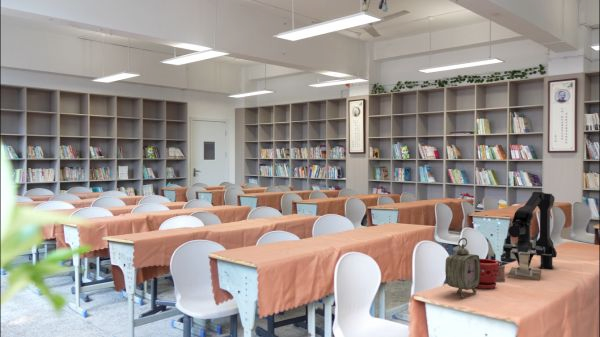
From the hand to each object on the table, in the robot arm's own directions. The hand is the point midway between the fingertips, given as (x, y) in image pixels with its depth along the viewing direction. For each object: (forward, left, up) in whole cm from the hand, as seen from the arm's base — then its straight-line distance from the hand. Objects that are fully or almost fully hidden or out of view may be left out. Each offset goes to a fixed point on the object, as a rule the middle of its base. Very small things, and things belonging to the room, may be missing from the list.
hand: (524, 265), depth 243 cm
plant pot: (+28, -15, -5) cm, 32 cm away
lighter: (+16, -11, -5) cm, 20 cm away
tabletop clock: (+46, -21, -5) cm, 51 cm away
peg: (0, 0, -3) cm, 3 cm away
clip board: (-3, 0, -5) cm, 6 cm away
